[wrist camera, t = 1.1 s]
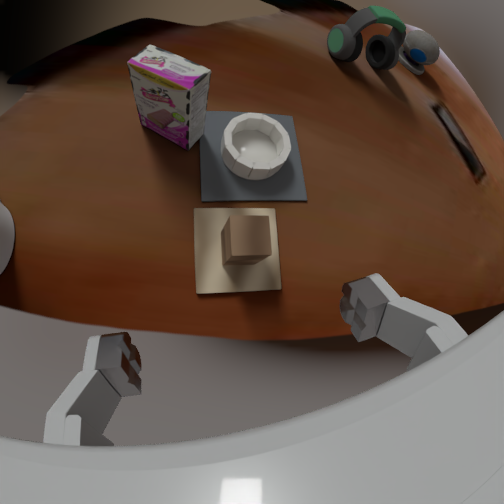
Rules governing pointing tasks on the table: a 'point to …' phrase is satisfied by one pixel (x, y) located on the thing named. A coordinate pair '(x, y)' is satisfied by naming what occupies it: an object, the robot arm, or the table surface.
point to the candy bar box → (170, 94)
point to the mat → (239, 189)
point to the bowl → (254, 146)
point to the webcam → (418, 51)
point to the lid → (236, 250)
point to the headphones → (378, 47)
